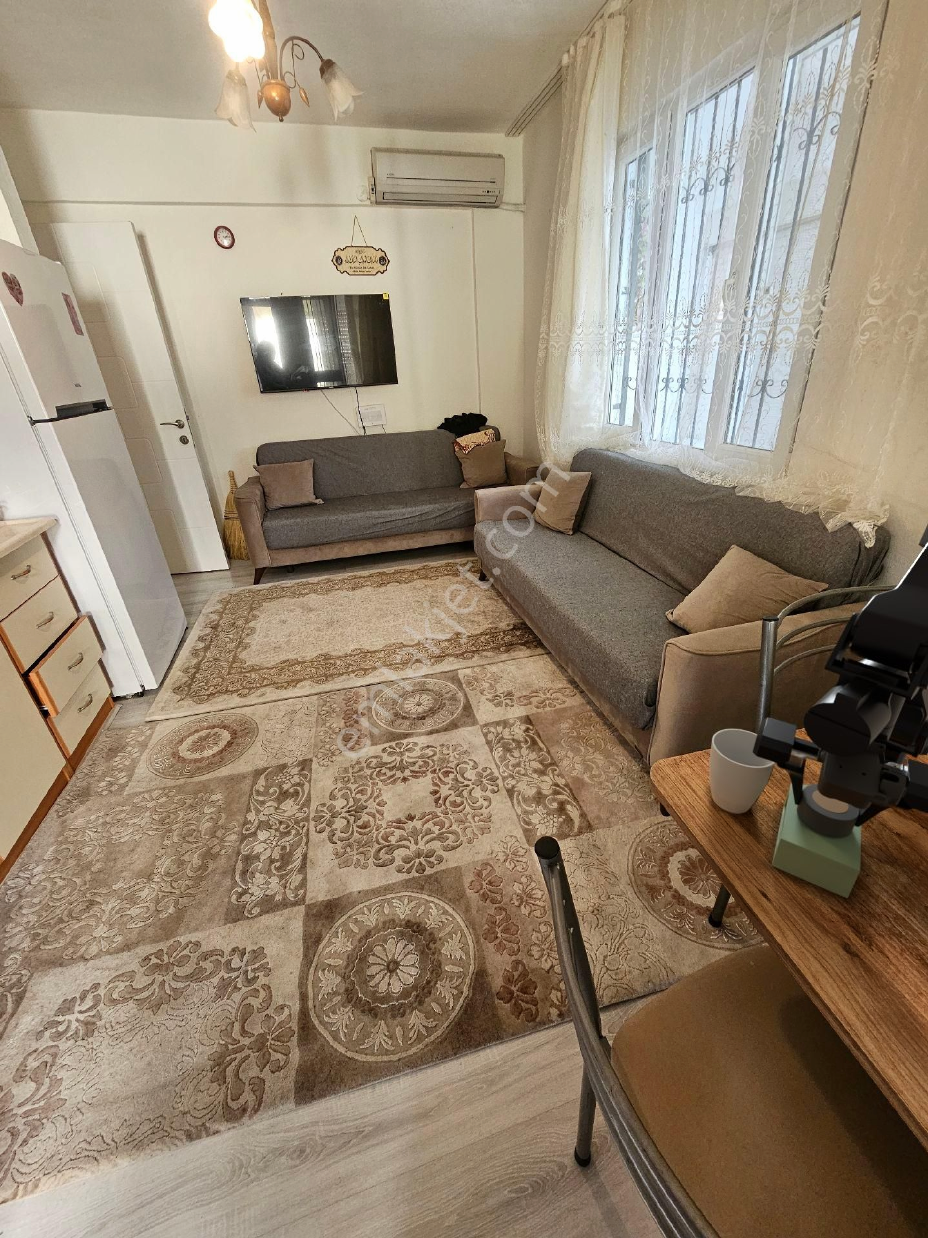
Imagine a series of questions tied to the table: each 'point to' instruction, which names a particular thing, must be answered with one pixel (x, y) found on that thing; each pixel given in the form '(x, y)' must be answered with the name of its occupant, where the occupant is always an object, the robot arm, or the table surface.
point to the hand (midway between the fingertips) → (825, 813)
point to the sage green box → (816, 852)
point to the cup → (737, 770)
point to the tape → (826, 813)
